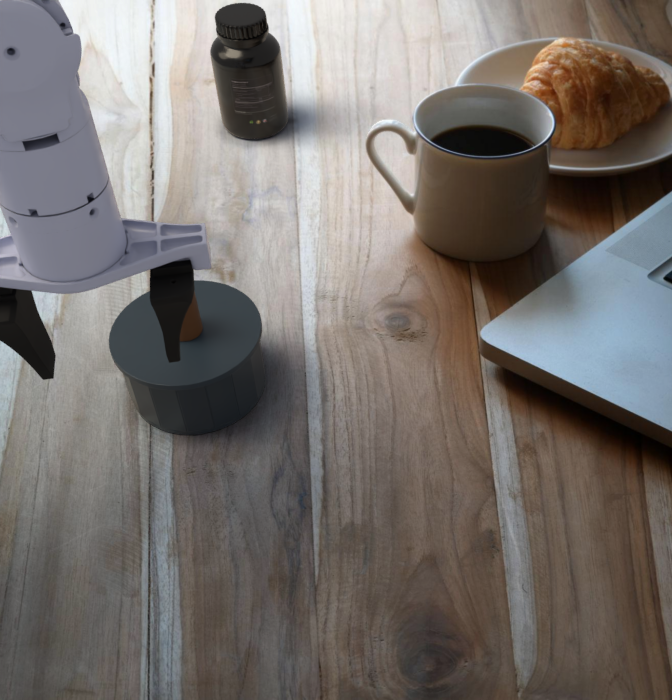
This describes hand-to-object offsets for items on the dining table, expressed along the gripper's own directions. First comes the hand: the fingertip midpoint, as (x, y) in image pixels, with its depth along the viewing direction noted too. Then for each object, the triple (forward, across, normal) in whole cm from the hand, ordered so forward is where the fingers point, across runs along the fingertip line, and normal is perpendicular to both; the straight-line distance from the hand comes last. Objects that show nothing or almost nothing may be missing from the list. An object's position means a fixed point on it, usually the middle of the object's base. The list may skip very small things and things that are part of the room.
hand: (112, 359), depth 59 cm
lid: (+5, -4, -6) cm, 9 cm away
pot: (+10, -4, -6) cm, 13 cm away
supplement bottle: (+11, -11, -42) cm, 45 cm away
